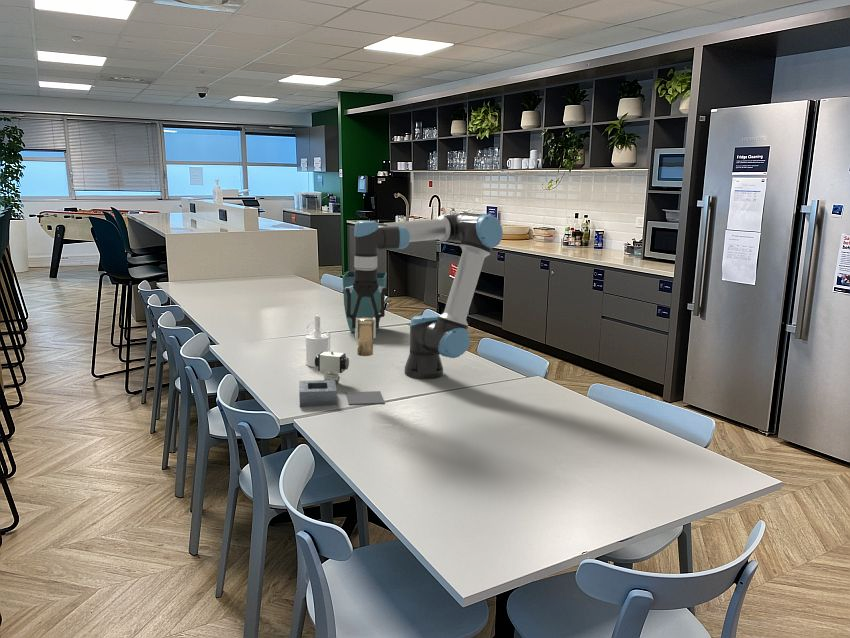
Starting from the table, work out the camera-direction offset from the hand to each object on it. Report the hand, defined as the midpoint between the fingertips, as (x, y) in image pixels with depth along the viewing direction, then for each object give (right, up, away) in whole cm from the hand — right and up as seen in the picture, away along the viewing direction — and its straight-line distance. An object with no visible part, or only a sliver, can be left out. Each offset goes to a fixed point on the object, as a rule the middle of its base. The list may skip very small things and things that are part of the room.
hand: (365, 337), depth 212 cm
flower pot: (-10, 0, +105) cm, 106 cm away
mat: (0, -21, +4) cm, 21 cm away
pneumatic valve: (-14, -17, +21) cm, 30 cm away
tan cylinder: (0, -6, +1) cm, 6 cm away
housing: (-16, -21, +1) cm, 27 cm away
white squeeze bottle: (-23, -12, +44) cm, 51 cm away
